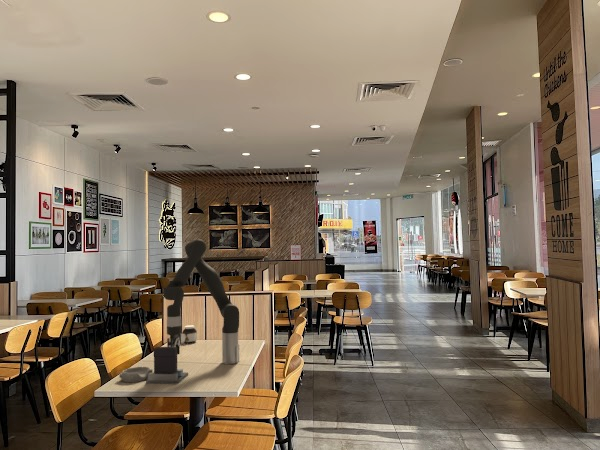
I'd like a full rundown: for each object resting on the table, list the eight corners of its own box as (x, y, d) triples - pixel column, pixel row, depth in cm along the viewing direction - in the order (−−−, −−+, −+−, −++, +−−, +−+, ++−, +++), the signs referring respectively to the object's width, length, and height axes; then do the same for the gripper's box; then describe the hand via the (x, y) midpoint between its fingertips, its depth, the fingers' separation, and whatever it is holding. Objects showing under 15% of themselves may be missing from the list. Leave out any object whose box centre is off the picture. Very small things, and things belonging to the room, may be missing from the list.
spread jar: (198, 341, 344) (198, 325, 344) (191, 345, 333) (191, 327, 333) (183, 341, 347) (183, 325, 347) (175, 344, 336) (175, 327, 336)
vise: (158, 375, 253) (158, 366, 253) (188, 375, 251) (188, 366, 251) (146, 383, 237) (146, 374, 238) (177, 383, 236) (177, 374, 236)
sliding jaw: (162, 370, 256) (162, 348, 256) (188, 370, 254) (187, 349, 255) (154, 375, 245) (154, 353, 245) (180, 376, 243) (180, 353, 244)
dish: (155, 376, 251) (155, 366, 251) (140, 383, 237) (140, 373, 238) (130, 375, 254) (130, 365, 254) (114, 382, 241) (114, 372, 241)
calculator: (177, 376, 244) (177, 346, 244) (175, 378, 239) (175, 348, 240) (156, 376, 244) (156, 346, 245) (153, 378, 240) (153, 348, 241)
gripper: (172, 322, 262) (172, 353, 261) (162, 327, 247) (162, 359, 247) (185, 322, 261) (185, 353, 260) (176, 327, 247) (176, 359, 246)
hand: (174, 356), depth 253 cm, fingers open, 8 cm apart
